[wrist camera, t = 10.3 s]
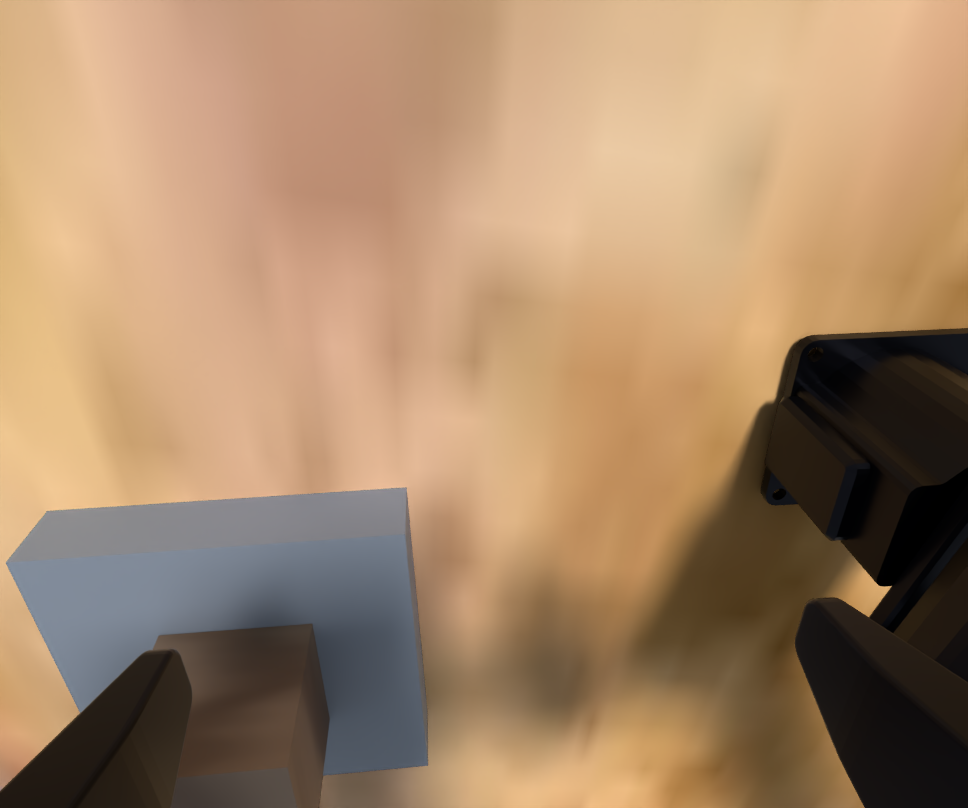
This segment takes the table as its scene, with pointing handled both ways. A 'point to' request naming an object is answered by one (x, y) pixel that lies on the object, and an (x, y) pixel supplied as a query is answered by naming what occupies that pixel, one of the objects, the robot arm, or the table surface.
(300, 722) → the walnut cube
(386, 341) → the table surface
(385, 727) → the slate block
